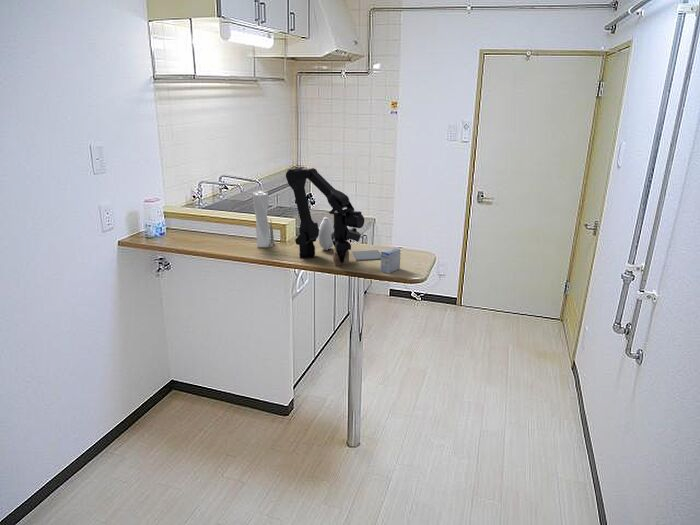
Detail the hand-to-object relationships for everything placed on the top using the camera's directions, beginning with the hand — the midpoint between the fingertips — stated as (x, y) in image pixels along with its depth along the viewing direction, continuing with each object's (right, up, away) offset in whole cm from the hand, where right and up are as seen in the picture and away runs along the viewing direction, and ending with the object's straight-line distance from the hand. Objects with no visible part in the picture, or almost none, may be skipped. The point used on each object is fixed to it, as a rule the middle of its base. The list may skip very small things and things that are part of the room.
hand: (341, 260), depth 216 cm
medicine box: (+21, -4, -8) cm, 23 cm away
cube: (0, -1, +1) cm, 2 cm away
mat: (+12, +2, +10) cm, 15 cm away
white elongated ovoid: (-7, +5, +20) cm, 21 cm away
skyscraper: (-37, +7, +26) cm, 46 cm away
